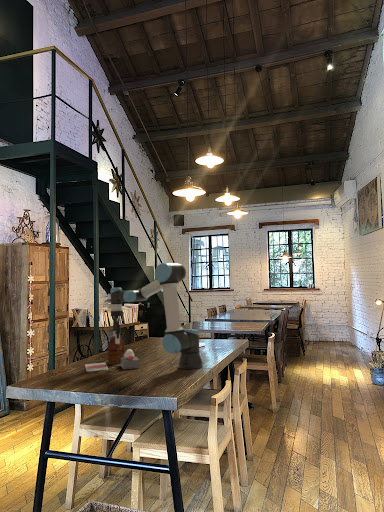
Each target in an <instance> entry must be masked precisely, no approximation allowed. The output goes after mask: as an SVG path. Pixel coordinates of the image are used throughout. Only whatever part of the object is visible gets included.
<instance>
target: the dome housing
mask: <svg viewBox="0 0 384 512" xmlns="http://www.w3.org/2000/svg"><path fill="white" fill-rule="evenodd" d="M120 367H121V369H122V370H130V369H132V370H133V369H139V368H140V358H138V357H137V356H134V358H133V356H128V359H124V358H121V363H120Z"/></svg>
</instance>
